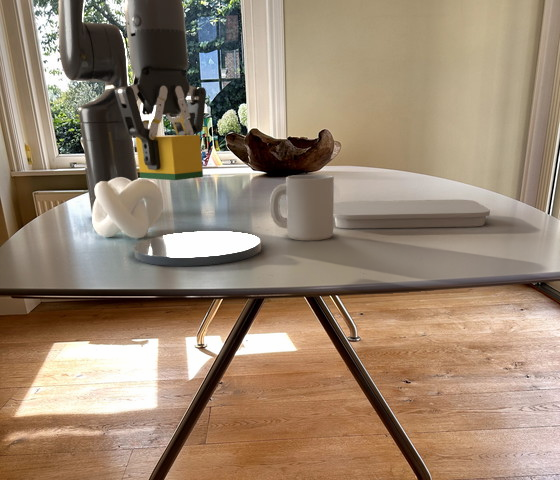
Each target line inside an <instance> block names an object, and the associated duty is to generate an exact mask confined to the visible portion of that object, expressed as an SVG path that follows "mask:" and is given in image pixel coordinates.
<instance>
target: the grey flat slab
mask: <svg viewBox="0 0 560 480" xmlns="http://www.w3.org/2000/svg"><path fill="white" fill-rule="evenodd" d="M490 215H491V209H490V208H489V207H488V208H487V207H486V206H484V205H482V204H481V203H479V202H477V201H475V200H471V199H412V200H410V199H409V200H406V199H405V200H364V201H363V200H362V201H361V200H360V201H358V200H357V201H337V202H333V219H334V222H335V227H336V228H338V229H394V228H395V229H399V228H400V229H403V228H404V229H405V228H407V229H408V228H410V229H411V228H464V227H482V226H484V225H485V224H486V223H485V220H486V217H487V216H490Z"/></svg>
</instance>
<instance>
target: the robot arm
mask: <svg viewBox="0 0 560 480" xmlns="http://www.w3.org/2000/svg"><path fill="white" fill-rule="evenodd" d="M85 2H86V0H58V47H59V55H60V57H59V58H60V63H61V67H62V70H63V72H64V74H65V76H66V78H67V79H68V80H69V81H72V82H82V83H86V82H88V83H104V90H103V92H102V93H101V94H100V96H98V97H96V98H95V99H93V100H91V101H89V102H87V103H84V104H82V105H80V106H79V107H78V111H77V112H78V120H79V126H80V132H81V139H82V144H83V145H82V146H83V152H84V153H83V154H84V158H85V168H84V170H85V178H86V184H87V191H88V198H89V203H90V210H91V211H90V212H91V213H92V212H93V206H94V202H95V199H96V196H95V186H96V184H97V183H99V182H101V181H107V182H108V181H110V180H112V179H114V178H118V177H123V178H127V179H129V180H130V181H134V180H137V179H139V177H138V175H139V174H138V169H137V168H138V167H137V160H136V159H137V158H136V152H135V142H134V137H135V138H136V137H138V138H140V139H141V141H142V147H143V156H144V162H145V165H147V167H148V169H149V170H158V169H160V167H161V165H160V156H159V146H158V141H155V139H156V137H157V136H158V131H159V125H160V123H162V119H163V116H164V115H165V116H166V117H167V119H168V121H169V122H170V123H171V125H172V127H173V129H174V132H175V134H176V135H197V134H198V133H202V132H203V130H204V121H205V120H204V119H205V110H206V98H207V90H206V88H205V87H204V86H202V87H195V86H192V85H190V82H189V80H188V77H187V70H188V68H189V56H188V46H187V34H186V33H187V32H186V22H185V21H186V20H185V12H184V11H185V10H184V4H183V0H124V5H123V6H124V18H125V26H126V34H127V35H126V36H127V43H128V51H129V52H128V53H129V60H130V67H131V69H132V71H133V74H134V75H133V76H134V77H133V81H132V84H130V85H129V72H128V58H127V48H126V43H125V39H124V36H123V34H122V31H121V29H120V28H119V27H118V26H117V25H115V24H112V23H102V22H101V23H99V22H98V23H97V22H84V10H85ZM138 100H140V102H141V104H140V107H139V105H138V104H139V103H138Z"/></svg>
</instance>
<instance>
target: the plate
mask: <svg viewBox="0 0 560 480" xmlns="http://www.w3.org/2000/svg"><path fill="white" fill-rule="evenodd" d="M261 251H262V240H261V239H260V238H259V237H257V236H255V235H252V234H248V233H242V232H233V231H194V232H182V233H173V234H166V235H161V236H156V237H151V238H148V239H145V240H142V241H140V242H138V243H136V244H135V245H134V246H133V254H134V258H135V259H136V260H137V261H139V262H141V263H145V264H150V265H154V266H155V265H156V266H166V267H200V266H212V265H220V264H226V263H227V264H228V263H232V262H238V261H242V260H245V259H249V258H252V257H255V256H256V255H258V254H259V253H260V252H261Z"/></svg>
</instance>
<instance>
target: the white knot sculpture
mask: <svg viewBox="0 0 560 480" xmlns="http://www.w3.org/2000/svg"><path fill="white" fill-rule="evenodd" d="M95 196H96V199H95V202H94V206H93V212H92V211H91V222H92V227H93V229H94V230H95V232H96V234H98V235H99V236H102V237H104V238H111V237H112V238H113V237H115V236H116V235H118V234H119V233H120V232H123V233H124V234H125V235H126V236H128V237H130V238H131V239H142V238H144V237H145V236H147V234H148V232H149V229H151V228H152V227H154V225H156V223H157V222H158V221H159V220H160V218H161V215H162V214H163V210H164V197H163V193H162V190H161V188H160V187H159V186H158V185H157V184H156V183H155V182H154V181H152V179H147V178H138V179H137V180H134V181H130V180H129V179H127V178H123V177H118V178H114V179H112V180H110V181H108V182H107V181H101V182H99V183H97V184H96V186H95Z"/></svg>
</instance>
